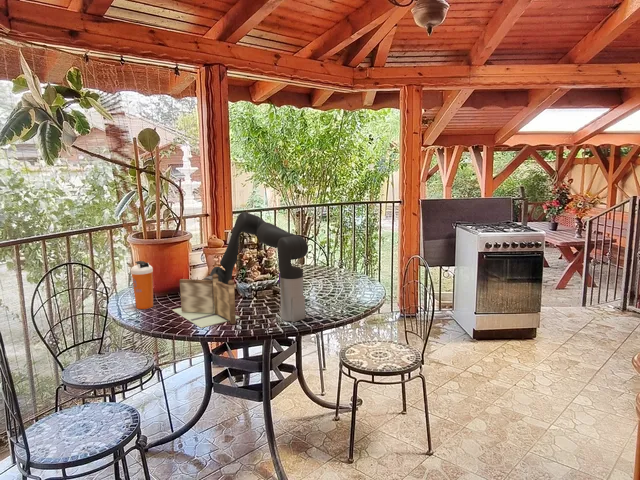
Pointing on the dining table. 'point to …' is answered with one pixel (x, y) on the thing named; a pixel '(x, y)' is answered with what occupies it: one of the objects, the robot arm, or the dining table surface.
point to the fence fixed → (224, 299)
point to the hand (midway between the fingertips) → (190, 298)
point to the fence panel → (197, 295)
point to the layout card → (202, 318)
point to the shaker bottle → (143, 284)
